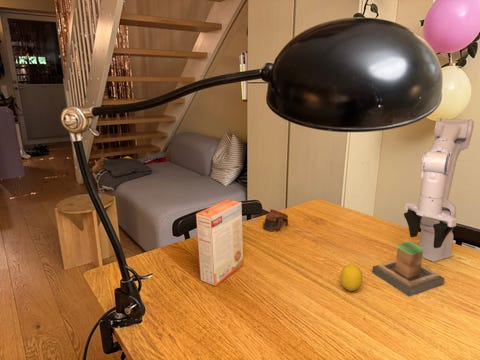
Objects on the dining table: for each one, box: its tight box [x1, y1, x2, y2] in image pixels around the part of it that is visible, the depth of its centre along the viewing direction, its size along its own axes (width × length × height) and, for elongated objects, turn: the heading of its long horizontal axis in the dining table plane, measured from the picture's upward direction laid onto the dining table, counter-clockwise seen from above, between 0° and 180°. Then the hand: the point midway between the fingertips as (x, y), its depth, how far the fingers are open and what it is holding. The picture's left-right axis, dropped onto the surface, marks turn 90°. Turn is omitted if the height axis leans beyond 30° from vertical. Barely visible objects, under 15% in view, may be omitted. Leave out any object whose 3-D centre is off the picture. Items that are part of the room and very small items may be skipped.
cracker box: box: [195, 198, 244, 287], centre depth 99 cm, size 14×6×21 cm, turn 145°
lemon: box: [339, 263, 363, 292], centre depth 91 cm, size 6×6×8 cm
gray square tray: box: [371, 259, 445, 297], centre depth 97 cm, size 13×13×3 cm
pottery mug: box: [262, 208, 289, 233], centre depth 132 cm, size 12×10×8 cm
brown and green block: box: [395, 241, 424, 278], centre depth 96 cm, size 4×4×8 cm
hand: (424, 241), depth 97 cm, fingers open, 7 cm apart
